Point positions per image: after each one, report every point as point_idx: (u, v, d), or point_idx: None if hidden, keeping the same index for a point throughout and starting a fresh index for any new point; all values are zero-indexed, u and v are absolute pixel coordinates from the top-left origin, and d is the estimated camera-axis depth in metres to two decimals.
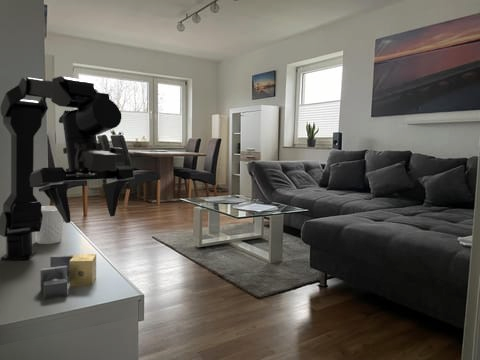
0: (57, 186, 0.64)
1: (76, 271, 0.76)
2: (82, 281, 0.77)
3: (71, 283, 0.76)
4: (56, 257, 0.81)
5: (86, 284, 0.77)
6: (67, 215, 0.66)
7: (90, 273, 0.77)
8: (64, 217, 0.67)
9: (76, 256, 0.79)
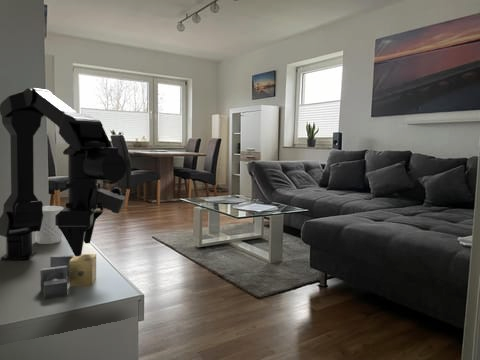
0: (89, 227, 0.71)
1: (76, 271, 0.76)
2: (82, 281, 0.77)
3: (71, 283, 0.76)
4: (56, 257, 0.81)
5: (86, 284, 0.77)
6: (81, 250, 0.73)
7: (90, 273, 0.77)
8: (76, 251, 0.73)
9: (76, 256, 0.79)
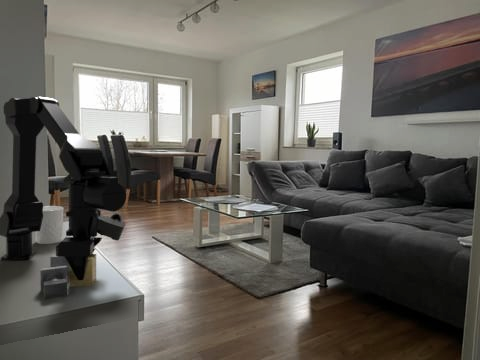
0: (92, 253, 0.74)
1: None
2: (82, 281, 0.77)
3: (71, 283, 0.76)
4: (56, 257, 0.81)
5: (86, 284, 0.77)
6: (84, 274, 0.76)
7: (90, 273, 0.77)
8: (79, 276, 0.76)
9: None
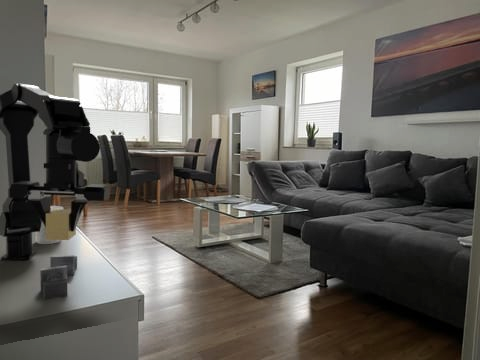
0: None
1: (70, 223, 0.77)
2: (72, 232, 0.78)
3: (69, 236, 0.76)
4: (56, 257, 0.81)
5: (74, 234, 0.79)
6: None
7: None
8: (75, 226, 0.78)
9: (54, 213, 0.75)
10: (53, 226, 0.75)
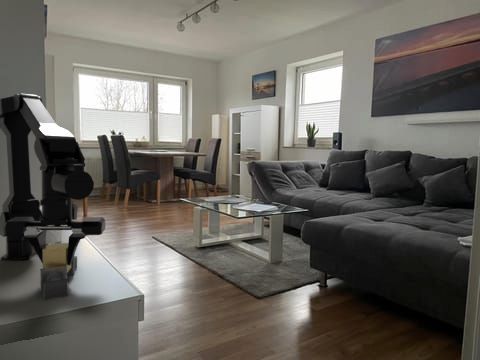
0: None
1: (67, 257, 0.77)
2: (69, 265, 0.79)
3: None
4: None
5: (70, 267, 0.80)
6: None
7: None
8: (71, 260, 0.78)
9: (50, 248, 0.76)
10: (50, 261, 0.75)
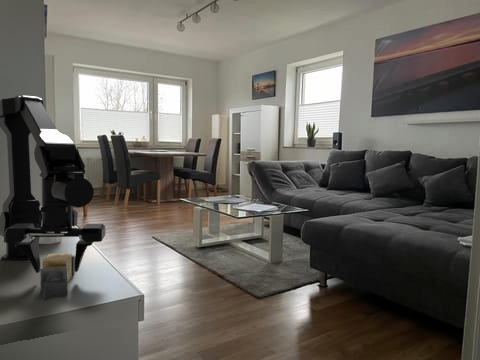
0: None
1: (67, 268, 0.77)
2: (69, 276, 0.79)
3: None
4: None
5: (70, 278, 0.80)
6: None
7: (71, 266, 0.80)
8: None
9: (51, 259, 0.76)
10: None
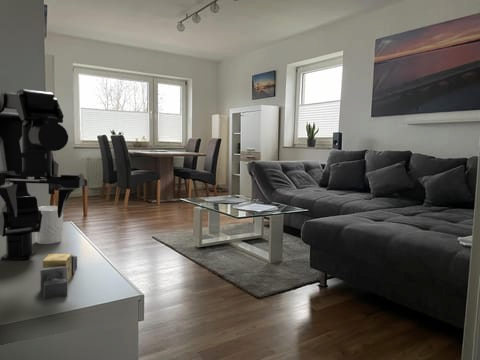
0: None
1: (67, 268, 0.77)
2: (69, 276, 0.79)
3: None
4: None
5: (70, 278, 0.80)
6: None
7: (71, 266, 0.80)
8: (61, 213, 0.83)
9: (51, 259, 0.76)
10: None
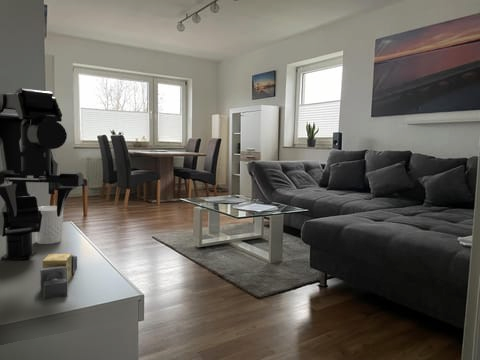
0: None
1: (67, 268, 0.77)
2: (69, 276, 0.79)
3: None
4: None
5: (70, 278, 0.80)
6: None
7: (70, 266, 0.80)
8: (61, 211, 0.83)
9: (51, 259, 0.76)
10: None
